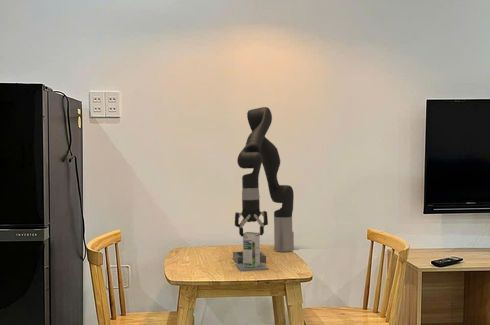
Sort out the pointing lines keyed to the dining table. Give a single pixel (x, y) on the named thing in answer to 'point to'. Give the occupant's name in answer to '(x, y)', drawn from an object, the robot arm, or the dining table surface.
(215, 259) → the dining table surface
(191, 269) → the dining table surface
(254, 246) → the syrup box
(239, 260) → the holder
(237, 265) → the mat
